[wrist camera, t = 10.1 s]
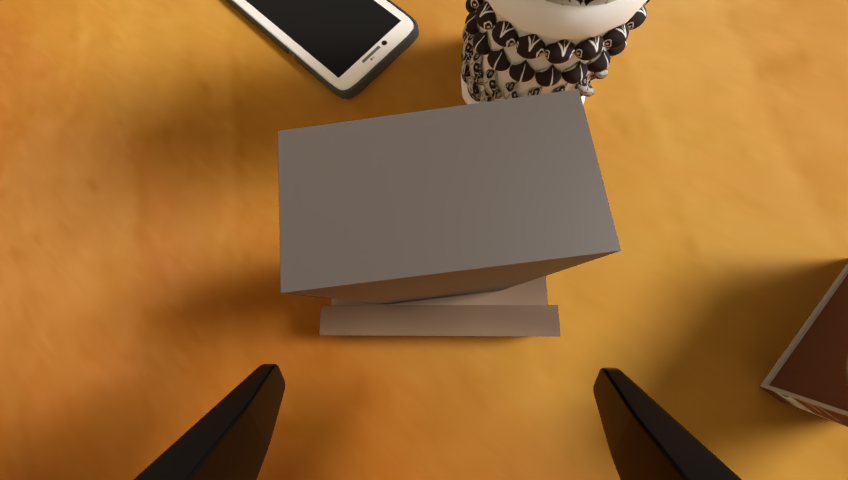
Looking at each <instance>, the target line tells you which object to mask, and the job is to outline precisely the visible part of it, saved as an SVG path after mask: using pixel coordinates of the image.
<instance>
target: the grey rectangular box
mask: <svg viewBox="0 0 848 480" xmlns="http://www.w3.org/2000/svg"><path fill="white" fill-rule="evenodd" d="M278 173H279V226H280V279H281V293H286V294H295V295H304V296H313V297H322V298H331V299H340V300H349V301H358V302H367V303H376V304H395V303H403V302H411V301H419V300H427V299H435V298H444V297H452V296H460V295H468V294H476V293H484V292H492V291H501V290H505V289H508V288H511V287H514V286H516V285H519V284H522V283H525V282H528V281H531V280H534V279H537V278H540V277H543V276H546V275H549V274H552V273H555V272H558V271H561V270H564V269H567V268H570V267H573V266H576V265H579V264H582V263H585V262H588V261H591V260H594V259H597V258H600V257H603V256H606V255H609V254H612V253H615V252H618V251H621V249H620V245H619V241H618V238H617V234H616V230H615V226H614V222H613V218H612V215H611V211H610V207H609V203H608V199H607V195H606V191H605V188H604V184H603V180H602V176H601V172H600V168H599V165H598V161H597V157H596V153H595V149H594V145H593V141H592V138H591V134H590V130H589V126H588V122H587V118H586V115H585V111H584V107H583V103H582V99H581V95H580V91H579V89H576V90H569V91H561V92H554V93H547V94H540V95H532V96H525V97H518V98H511V99H504V100H496V101H489V102H482V103H475V104H467V105H460V106H453V107H446V108H438V109H431V110H424V111H417V112H409V113H402V114H395V115H388V116H381V117H373V118H366V119H359V120H352V121H344V122H337V123H330V124H323V125H315V126H308V127H301V128H294V129H286V130H279V131H278Z"/></svg>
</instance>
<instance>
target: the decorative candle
mask: <svg viewBox="0 0 848 480" xmlns="http://www.w3.org/2000/svg"><path fill="white" fill-rule="evenodd" d="M649 1H650V0H467V1H466V9H467V11H468V12H469V13H470V14H469V15H468V16H467V18H466V22H465V27H464V30H463V41H464V44H463V49H462V53H461V59H462V62H463V63H462V67H461V88H462V97H463V99H464V101H465V102H466V104H475V103H482V102H489V101H496V100H504V99H511V98H518V97H525V96H532V95H540V94H547V93H554V92H561V91H569V90H576V89H579V91H580V95H581V99H582V103H583V104H584V100H585V97H590V96H592V95H593V94H594V92H595V90H594V88H593V87H592V85H591V84H590V81H591V80H592V79H595V78H597V79H602V78H604V77H606V76H607V74H608V70H607V67H608V65H609V63H610V58H611V57H612V56H614V55H617V54H619V53H620V52H622V51H623V50H624V48H625V47H626V39H627V37H628V34H629V30H632V29H635V28H637V27H638V26H640V25H641V24H642V23H643V22H644V20H645V18H646V16H647V13H646V9H645V7H644V5H646V4H647V3H648V2H649ZM590 77H591V78H590ZM589 78H590V80H589Z"/></svg>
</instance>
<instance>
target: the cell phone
mask: <svg viewBox="0 0 848 480" xmlns="http://www.w3.org/2000/svg"><path fill="white" fill-rule="evenodd" d="M227 1H228V2H229V3H230V4H231V5H232V6H234V7H235V8H236V9H237V10H238V11H239V12H241V13H242V14H243V15H244V16H245V17H246V18H248V19H249V20H250V21H251V22H252V23H253V24H255V25H256V26H257V27H258V28H259V29H260V30H262V31H263V32H264V33H265V34H266V35H267V36H269V37H270V38H271V39H272V40H273V41H274V42H275V43H277V44H278V45H279V46H280V47H281V48H282V49H284V50H285V51H286V52H287V53H289V52H290V53H291V54H292V55H293V56H294V57H295V58H296V60H297V61H298V62H299V63H300V64H301V65H302V66H303V67H305V68H306V69H307V70H308V71H309V72H311V73H312V74H313V75H314V76H315V77H316V78H318V79H319V80H320V81H321V82H322V83H323V84H325V85H326V86H327V87H328V88H329V89H330V90H332V91H333V92H334V93H336V94H337V95H339V96H340V97H342V98H345V99H349V98H352V97H354V96H355V95H357V94H358V93H359V92H361V91H362V90H363V89H364V88H365V87H366V86H367V85H368V84H369V83H370V82H371V81H373V80H374V79H375V78H376V77H377V76H378V75H379V74H380V73H381V72H382V71H383V70H384V69H385V68H386V67H388V66H389V65H390V64H391V63H392V62H393V61H394V60H395V59H396V58H397V57H398V56H399V55H400V54H401V53H403V52H404V51H405V50H406V49H407V48H408V47H409V46H410V45H411V44H412V43H413V42H414V41H415V40H416V38H417V37H418V34H419V30H418V25H417V22H416V21H415V20H414V19H413V18H412V17H411V16H410V15H409V14H407V13H406V12H405V11H404V10H402V9H401V8H400V7H398V6H397V5H396V4H394V3H393V2H392V1H390V0H387V1H386V0H227ZM389 2H390V3H391V4H390V3H389ZM393 5H394V6H395V7H394V6H393Z"/></svg>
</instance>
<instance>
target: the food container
mask: <svg viewBox="0 0 848 480" xmlns="http://www.w3.org/2000/svg"><path fill="white" fill-rule="evenodd" d="M760 387H761V388H763V389H764V390H766V391H767V392H768V393H770V394H771V395H773V396H774V397H776V398H777V399H778V400H780V401H782V402H784V403H787V404H789V405H792V406H794V407H797V408H799V409H802V410H804V411H807V412H810V413H812V414H815V415H817V416H820V417H823V418H826V419H828V420H831V421H834V422H836V423H839V424H842V425H845V426H847V427H848V263H847V264H846V265H845V267H844V268H843V270H842V271H841V272H840V274H839V275H838V277H837V278H836V279H835V281H834V282H833V284H832V285H831V287H830V288H829V289H828V291H827V292H826V294H825V295H824V296H823V298H822V299H821V301H820V302H819V303H818V305H817V306H816V308H815V309H814V310H813V312H812V313H811V315H810V316H809V317H808V319H807V320H806V322H805V323H804V324H803V326H802V327H801V329H800V330H799V331H798V333H797V334H796V336H795V337H794V339H793V340H792V341H791V343H790V344H789V346H788V347H787V348H786V350H785V351H784V353H783V354H782V355H781V357H780V358H779V360H778V361H777V362H776V364H775V365H774V367H773V368H772V369H771V371H770V372H769V374H768V375H767V376H766V378H765V379H764V381H763V382H762V383H761V385H760Z"/></svg>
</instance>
